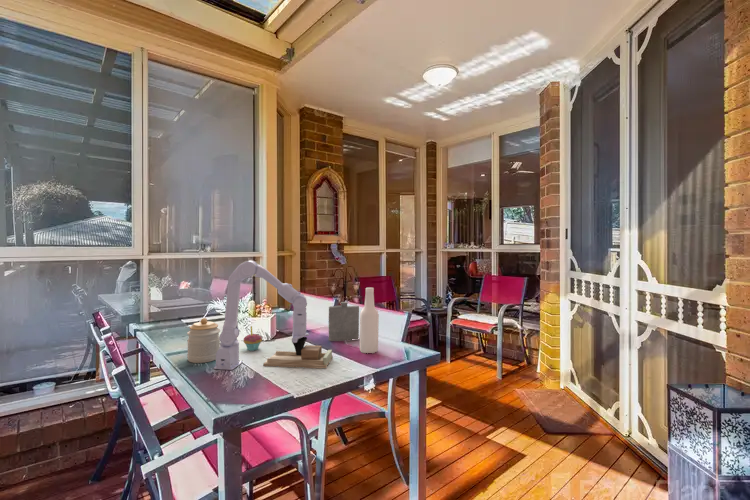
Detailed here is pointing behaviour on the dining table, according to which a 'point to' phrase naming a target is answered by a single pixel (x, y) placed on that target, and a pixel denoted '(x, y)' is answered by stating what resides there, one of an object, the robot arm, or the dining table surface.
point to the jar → (203, 341)
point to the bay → (297, 360)
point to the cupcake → (252, 341)
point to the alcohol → (369, 324)
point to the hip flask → (343, 322)
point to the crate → (311, 352)
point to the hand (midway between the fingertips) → (299, 354)
